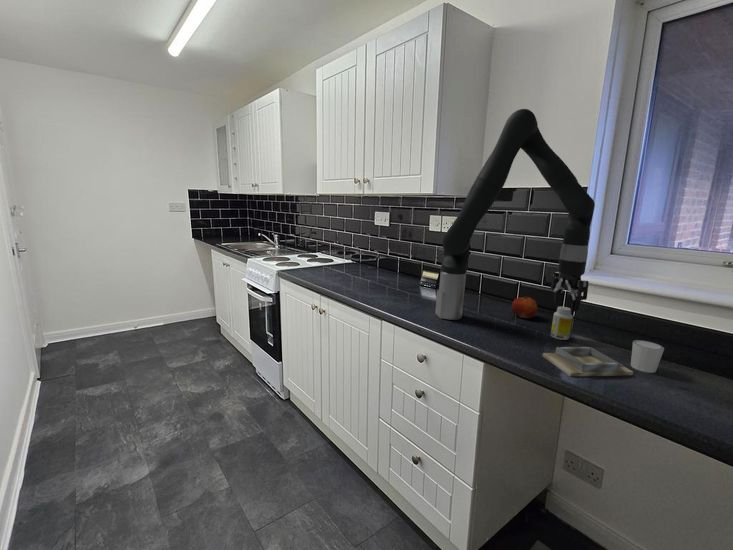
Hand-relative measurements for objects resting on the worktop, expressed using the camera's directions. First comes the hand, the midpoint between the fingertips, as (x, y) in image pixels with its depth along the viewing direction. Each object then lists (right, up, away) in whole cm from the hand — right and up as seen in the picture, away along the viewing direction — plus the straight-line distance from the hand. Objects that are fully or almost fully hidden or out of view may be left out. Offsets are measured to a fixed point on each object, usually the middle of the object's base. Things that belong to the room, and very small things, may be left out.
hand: (565, 307), depth 117 cm
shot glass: (+12, -16, -18) cm, 26 cm away
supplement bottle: (-1, -11, +2) cm, 11 cm away
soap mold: (-3, -98, +14) cm, 99 cm away
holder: (-4, -15, -18) cm, 23 cm away
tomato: (-4, -6, +22) cm, 24 cm away
